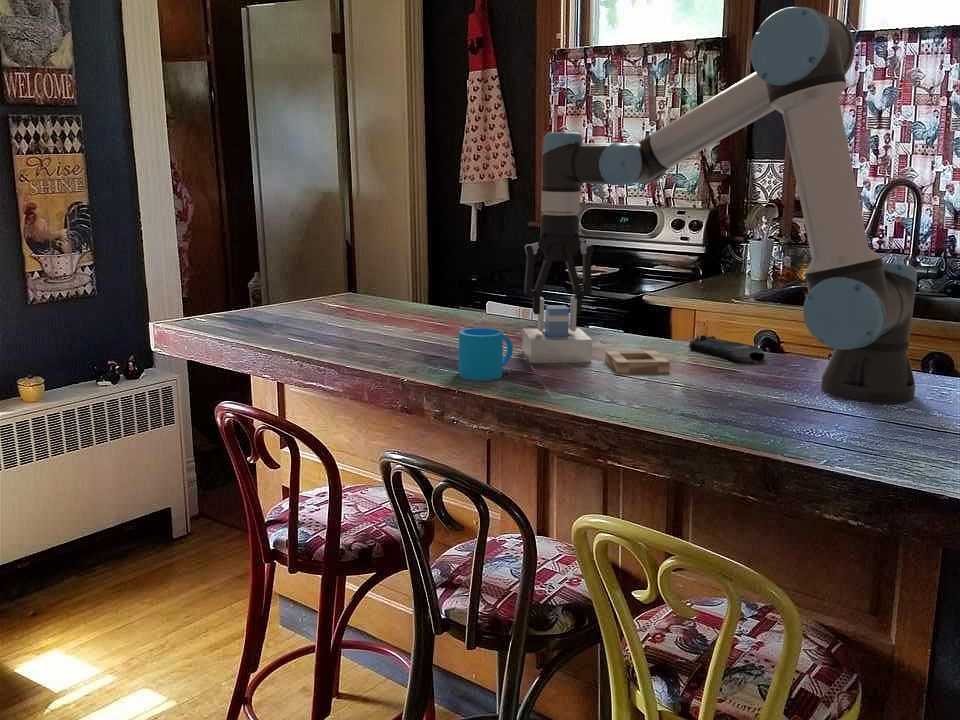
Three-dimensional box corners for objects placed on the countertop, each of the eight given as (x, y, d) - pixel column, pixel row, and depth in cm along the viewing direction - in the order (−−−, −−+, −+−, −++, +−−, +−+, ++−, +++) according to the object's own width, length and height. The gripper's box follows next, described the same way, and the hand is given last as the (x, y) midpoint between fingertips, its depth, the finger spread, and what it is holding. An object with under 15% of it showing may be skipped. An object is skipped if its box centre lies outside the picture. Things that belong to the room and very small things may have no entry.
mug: (478, 382, 165) (479, 338, 163) (449, 374, 171) (449, 331, 169) (526, 372, 173) (527, 330, 171) (497, 365, 179) (497, 324, 177)
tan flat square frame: (669, 374, 172) (670, 361, 172) (617, 375, 171) (617, 362, 171) (654, 362, 182) (655, 350, 182) (604, 363, 181) (605, 351, 181)
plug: (567, 358, 183) (569, 308, 181) (547, 358, 183) (548, 308, 181) (563, 353, 187) (565, 305, 185) (544, 353, 187) (545, 305, 185)
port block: (591, 364, 180) (592, 337, 179) (530, 365, 179) (531, 338, 177) (578, 351, 191) (579, 326, 190) (522, 352, 190) (522, 326, 189)
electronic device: (685, 361, 192) (745, 364, 180) (686, 334, 192) (746, 336, 180) (713, 361, 198) (773, 364, 186) (714, 335, 198) (774, 337, 186)
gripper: (603, 212, 183) (598, 326, 188) (509, 212, 181) (507, 326, 187) (612, 215, 176) (606, 333, 181) (514, 214, 174) (512, 334, 179)
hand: (556, 329), depth 184 cm, fingers open, 6 cm apart
